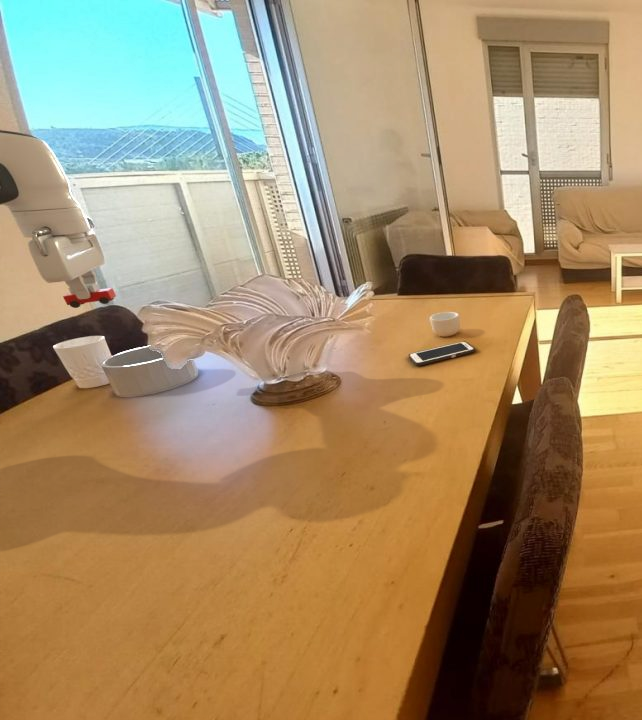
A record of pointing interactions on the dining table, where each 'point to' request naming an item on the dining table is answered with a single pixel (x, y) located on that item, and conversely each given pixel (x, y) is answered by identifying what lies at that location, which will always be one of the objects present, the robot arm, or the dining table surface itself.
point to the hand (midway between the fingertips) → (89, 295)
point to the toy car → (97, 295)
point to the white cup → (85, 360)
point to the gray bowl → (144, 373)
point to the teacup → (445, 323)
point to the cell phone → (441, 353)
